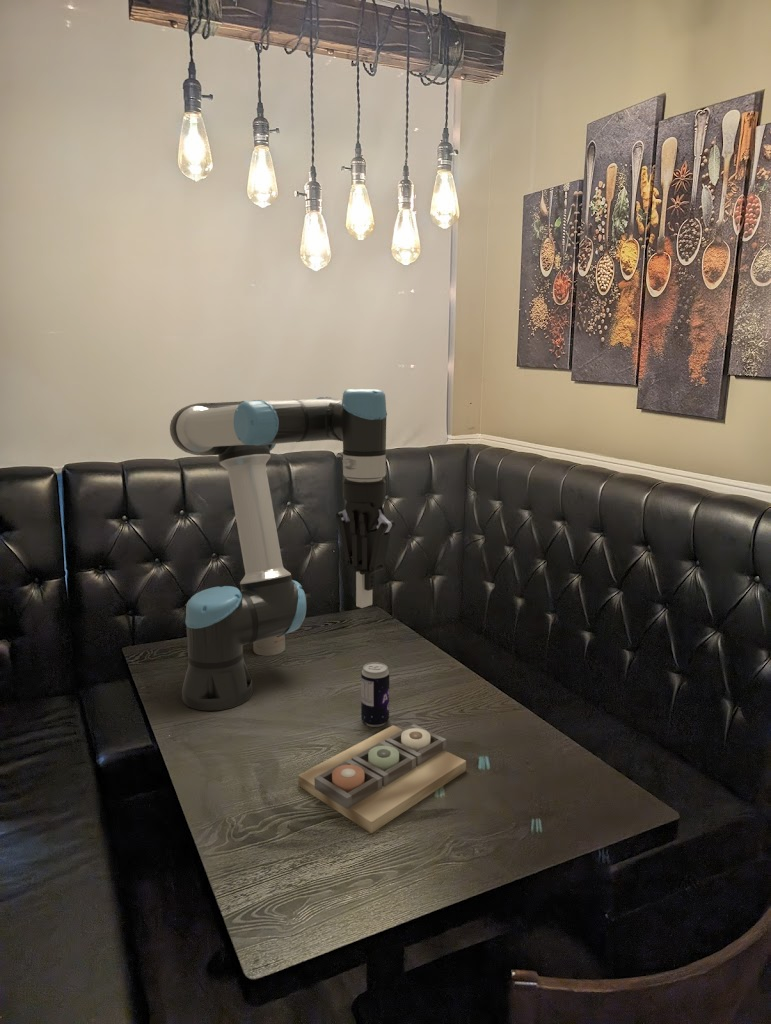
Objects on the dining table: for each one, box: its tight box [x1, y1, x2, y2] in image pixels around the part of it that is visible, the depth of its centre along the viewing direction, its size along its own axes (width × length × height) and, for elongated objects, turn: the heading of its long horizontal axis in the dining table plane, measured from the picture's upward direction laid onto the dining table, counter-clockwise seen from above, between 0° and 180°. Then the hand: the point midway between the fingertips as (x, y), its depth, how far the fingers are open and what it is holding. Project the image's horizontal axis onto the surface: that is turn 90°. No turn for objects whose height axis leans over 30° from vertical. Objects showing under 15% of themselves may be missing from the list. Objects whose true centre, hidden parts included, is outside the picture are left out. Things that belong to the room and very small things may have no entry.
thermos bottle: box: [252, 634, 286, 657], centre depth 176 cm, size 8×8×28 cm
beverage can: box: [360, 661, 390, 728], centre depth 142 cm, size 6×6×12 cm
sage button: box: [368, 746, 399, 771], centre depth 123 cm, size 5×5×3 cm
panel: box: [297, 723, 467, 834], centre depth 123 cm, size 18×25×4 cm
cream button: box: [401, 728, 431, 752], centre depth 129 cm, size 5×5×3 cm
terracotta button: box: [332, 765, 364, 793], centre depth 117 cm, size 5×5×3 cm
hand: (364, 605), depth 128 cm, fingers closed
